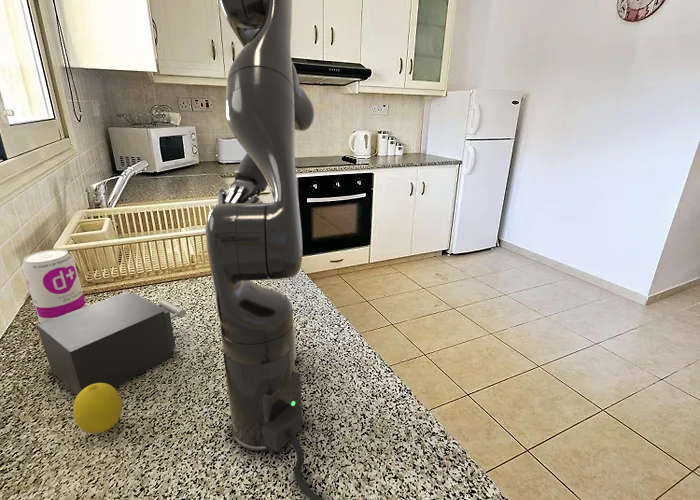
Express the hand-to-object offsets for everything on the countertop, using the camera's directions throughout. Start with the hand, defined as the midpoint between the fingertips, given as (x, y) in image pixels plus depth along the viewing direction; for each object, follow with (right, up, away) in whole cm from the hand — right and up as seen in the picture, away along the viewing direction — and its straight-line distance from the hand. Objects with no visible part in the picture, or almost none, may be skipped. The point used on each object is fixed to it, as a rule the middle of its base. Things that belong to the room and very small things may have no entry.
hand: (219, 231), depth 80 cm
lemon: (-7, -30, -26) cm, 40 cm away
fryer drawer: (-12, -23, -10) cm, 28 cm away
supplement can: (-33, -19, 0) cm, 38 cm away
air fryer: (-14, -25, -13) cm, 31 cm away
